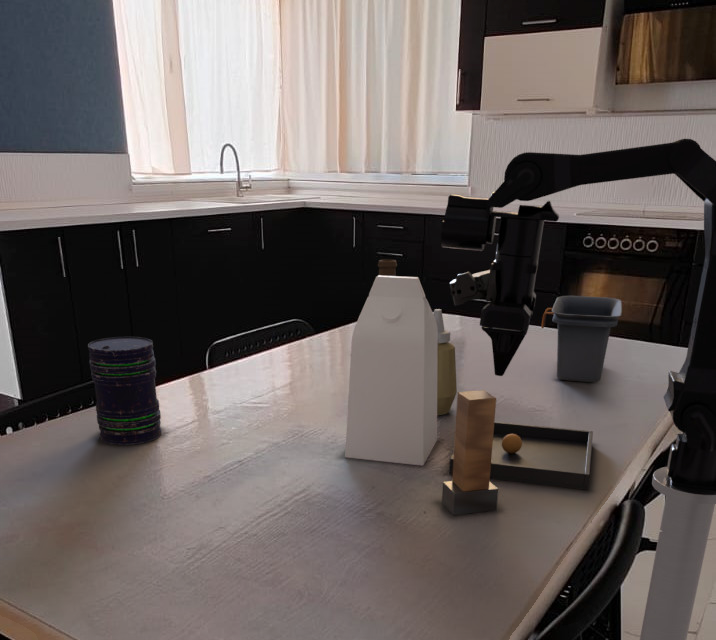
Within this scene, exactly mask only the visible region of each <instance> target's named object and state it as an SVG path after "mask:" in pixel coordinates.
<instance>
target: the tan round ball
mask: <svg viewBox="0 0 716 640" xmlns="http://www.w3.org/2000/svg"><path fill="white" fill-rule="evenodd" d="M502 447H503V449H504V451H506V452H507V453H510V454H513V453H516V452H518V451H519V450H520V449H521V447H522V441H521V438H520V437H519V436H518V435H516V434H508V435H506V436H505V437H504V438H503V440H502Z"/></svg>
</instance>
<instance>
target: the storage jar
mask: <svg viewBox="0 0 716 640" xmlns="http://www.w3.org/2000/svg"><path fill="white" fill-rule="evenodd" d="M153 348H154V342H153V340H152V339H149V338H148V337H147V338H146V337H141V336H115V337H105V338H100V339H96V340H93V341H91V342H89V343H88V344H87V349H88V352H89V370H90V371H91V374H90V377H91V380H92V382H93V383H94V390H95V397H96V404H95V412H96V421H97V425H98V429H99V431H100V432H99V438H100V440H101V441H102V442H103V443H106V444H109V445H116V446H118V445H119V446H131V445H139V444H145V443H148V442H151V441H155V440H156V439H158V438H160V436H161V435H162V433H163V432H162V428H161V424H162V422H161V421H162V420H161V419H162V416H161V414H162V413H161V409H160V401H159V399H158V398H157V388H156V386H157V385H156V377H157V370H156V358H155V354H154V349H153Z"/></svg>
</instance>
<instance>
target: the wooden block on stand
mask: <svg viewBox="0 0 716 640" xmlns="http://www.w3.org/2000/svg"><path fill="white" fill-rule="evenodd" d="M456 397H457V398H456V399H457V400H456V413H455V431H454V446H453V447H454V448H453V453H454V461H453V474H452V480H447V481H442V491H441V493H442V494H441V504H442V505H443V506H444V507H445V508H446V509H447V510H448V511H449V512H450V513H451V515H453V516H460V515H466V514H475V513H483V512H490V511H491V512H492V511H497V507H498V497H499V488H498V487H497V486H496V485H494V483H492V482H491V479H490V469H491V457H492V445H493V433H494V422H496V421H495V420H496V407H497V397H496V396H494V395H492V394H491V393H490V392H488V391H486V390H484V389H482V390H469V391H467V390H466V391H457V395H456Z"/></svg>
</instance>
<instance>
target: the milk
mask: <svg viewBox="0 0 716 640" xmlns="http://www.w3.org/2000/svg"><path fill="white" fill-rule="evenodd" d="M433 313H434V311H433V310H432V308H431V305H430V303H429V301H428V299H427V298H426V294H425V291H424V289H423V286H422V284H421V281H420V278H419V277H418V276H399V275H396V276H381V275H379V274H378V275H377V276H375V279H374V281H373V283H372V286H371V288H370V291H369V292H368V296H367V298H366V300H365V302H364V305H363V307H362V309H361V312H360V313H359V316H358V319H357V321H356V323H355V326H354V328H353V331H352V336H351V345H350V362H349V363H350V364H349V381H348V396H347V397H348V398H347V413H346V414H347V416H346V430H345V431H346V433H345V447H344V450H345V451H344V458H348V459H356V460H357V459H359V460H367V461H376V462H385V463H395V464H405V465H414V466H424V465H425V463H426V461H427V460H428V458H429V456H430V454H431V452H432V451H433V448H434V447H435V445H436V443H437V442H438V415H437V343H438V331H437V323H436V319H435V317H434V314H433Z"/></svg>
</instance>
